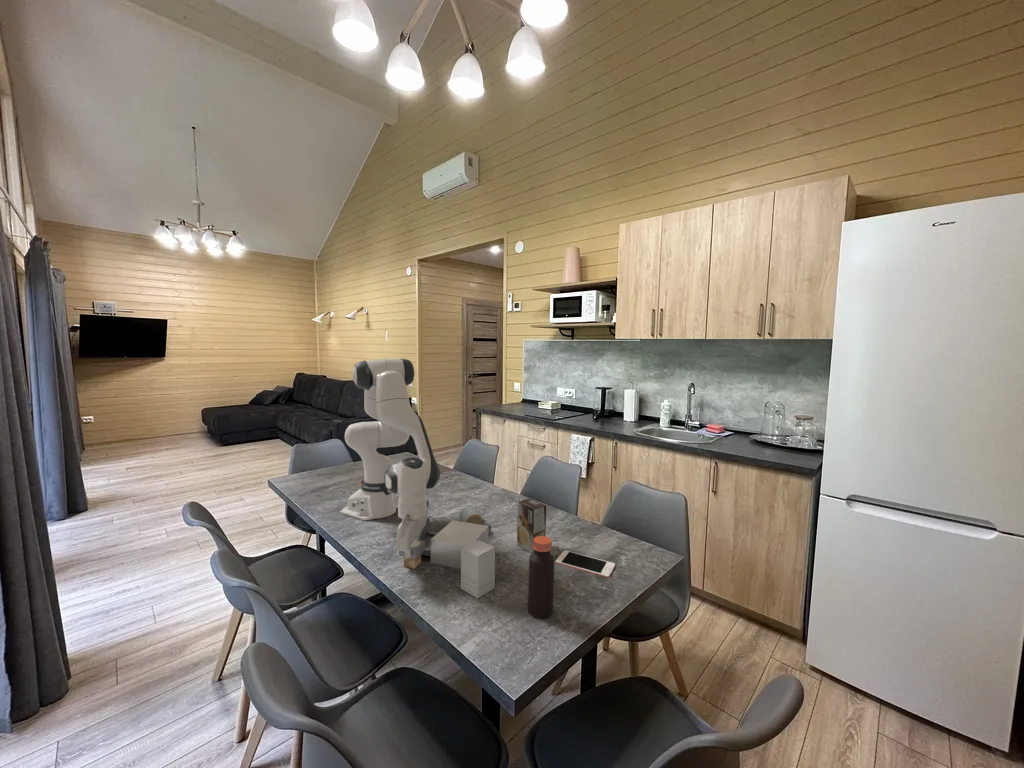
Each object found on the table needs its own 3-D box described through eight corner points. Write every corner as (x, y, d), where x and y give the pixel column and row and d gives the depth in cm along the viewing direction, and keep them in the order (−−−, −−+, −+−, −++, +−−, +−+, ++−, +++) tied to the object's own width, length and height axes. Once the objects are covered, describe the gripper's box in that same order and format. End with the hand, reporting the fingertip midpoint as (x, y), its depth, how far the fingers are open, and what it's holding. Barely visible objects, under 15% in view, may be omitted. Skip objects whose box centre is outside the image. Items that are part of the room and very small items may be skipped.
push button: (399, 555, 132) (399, 546, 131) (409, 547, 137) (409, 537, 137) (415, 558, 130) (415, 549, 129) (425, 550, 135) (425, 540, 135)
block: (403, 566, 133) (403, 554, 132) (410, 560, 136) (410, 548, 136) (414, 568, 131) (414, 556, 131) (421, 562, 135) (421, 550, 135)
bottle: (538, 622, 107) (540, 548, 105) (522, 609, 112) (524, 538, 111) (558, 613, 111) (560, 541, 109) (541, 600, 116) (543, 532, 114)
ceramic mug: (465, 534, 156) (465, 514, 156) (458, 525, 164) (459, 506, 163) (491, 530, 161) (492, 511, 160) (483, 521, 168) (484, 503, 167)
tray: (400, 555, 139) (400, 534, 138) (424, 535, 154) (424, 515, 153) (440, 563, 134) (440, 541, 133) (461, 542, 149) (461, 521, 149)
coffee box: (546, 549, 146) (547, 505, 145) (533, 554, 142) (534, 509, 140) (528, 539, 153) (529, 497, 152) (515, 544, 149) (516, 501, 147)
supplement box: (495, 588, 122) (496, 547, 121) (477, 599, 116) (477, 556, 115) (478, 578, 127) (478, 538, 126) (459, 588, 121) (460, 547, 120)
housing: (430, 562, 135) (430, 539, 134) (452, 541, 150) (452, 520, 150) (470, 570, 131) (470, 546, 130) (488, 547, 146) (488, 526, 145)
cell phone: (608, 579, 129) (608, 576, 128) (554, 563, 137) (554, 561, 137) (615, 566, 136) (615, 563, 136) (564, 552, 145) (564, 549, 145)
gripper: (411, 523, 122) (411, 568, 123) (430, 498, 142) (430, 537, 143) (390, 522, 122) (391, 567, 123) (412, 497, 142) (412, 536, 144)
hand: (412, 550), depth 133 cm, fingers closed on push button, 7 cm apart
